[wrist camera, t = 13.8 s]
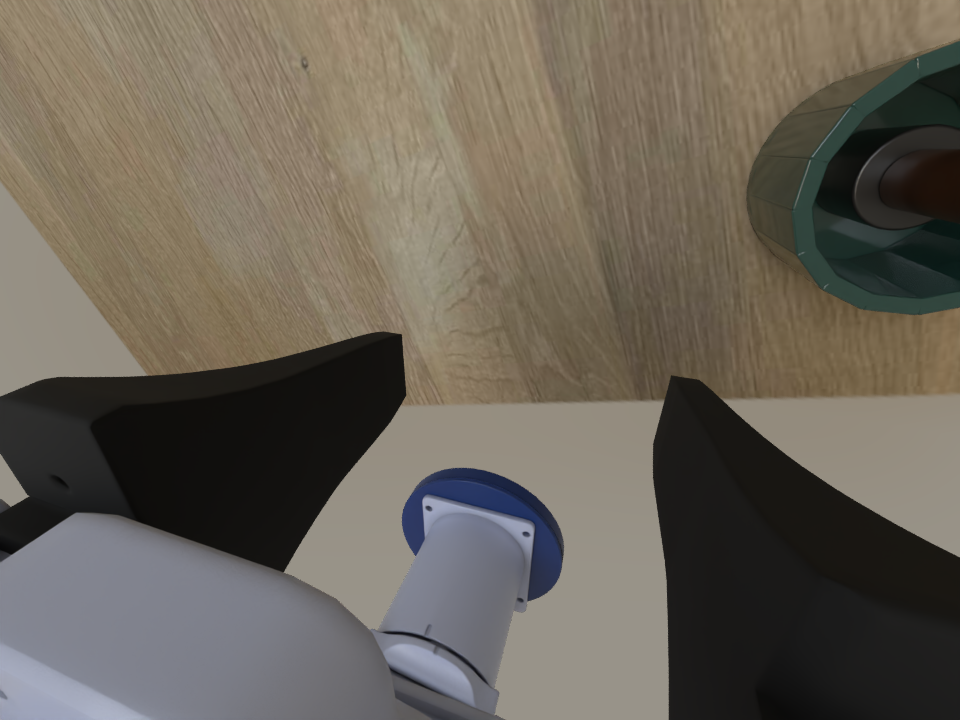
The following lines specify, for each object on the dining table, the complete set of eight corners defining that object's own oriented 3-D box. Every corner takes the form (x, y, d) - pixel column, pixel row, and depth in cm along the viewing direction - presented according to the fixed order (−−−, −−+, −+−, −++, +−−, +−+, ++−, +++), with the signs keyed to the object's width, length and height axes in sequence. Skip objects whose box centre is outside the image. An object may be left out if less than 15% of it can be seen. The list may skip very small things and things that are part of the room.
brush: (890, 218, 15) (1065, 265, 9) (799, 213, 16) (905, 254, 10) (930, 128, 14) (1167, 113, 8) (830, 128, 14) (973, 114, 8)
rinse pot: (918, 274, 16) (1039, 328, 11) (725, 259, 17) (760, 300, 13) (1025, 63, 13) (1256, 14, 8) (779, 70, 14) (851, 33, 10)
